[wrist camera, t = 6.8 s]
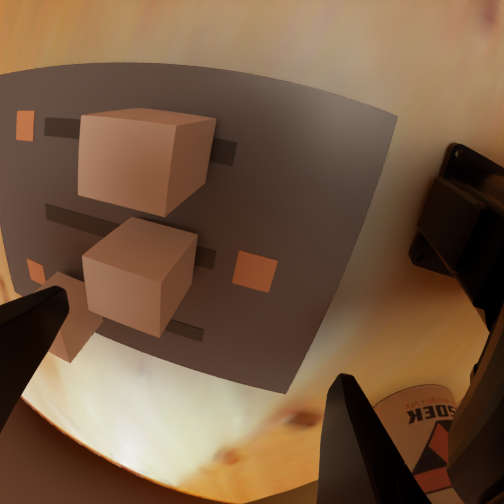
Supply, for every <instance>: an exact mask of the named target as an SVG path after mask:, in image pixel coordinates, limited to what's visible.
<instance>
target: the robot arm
mask: <svg viewBox="0 0 504 504" xmlns="http://www.w3.org/2000/svg"><path fill="white" fill-rule="evenodd" d="M458 149H459V150H460V156H459V157H458V158H456V155H455V154H456V151H457V150H458ZM418 228H419V230H418V233H417V235H416V237H415V240H414V242H413V244H412V246H411V249H410V251H409V258H410V260H411V262H412V263H413V264H414V265H416V266H419V267H422V268H425V269H428V270H432V271H435V272H438V273H441V274H444V275H447V276H450V277H453V278H455V279H456V280H457V282H458V283H459V284H460V286H461V287H462V289H463V290H464V292H465V294H466V295H467V297H468V298H469V300H470V301H471V303H472V304H473V306H474V307H475V309H476V311H477V312H478V314H479V315H480V317H481V319H482V320H483V322H484V324H485V326H486V327H487V329H488V331H489V332H490V334H489V336H488V339H487V341H486V344H485V346H484V349H483V351H482V354H481V356H480V358H479V361H478V363H476V364H475V365H474V367H473V369H472V372H471V374H470V386H469V388H468V390H467V392H466V394H465V396H464V398H463V399H462V401H461V403H460V405H459V407H458V409H457V410H456V412H455V414H454V417H453V421H452V424H451V427H450V431H449V434H448V464H447V466H446V472H447V474H448V477H449V480H450V483H451V485H452V487H453V489H454V490H455V492H456V493H457V494H458V496H459V497H460V499H461V500H462V501H463V502H464V503H465V504H504V168H502V167H501V166H499V165H498V164H496V163H494V162H493V161H491V160H489V159H488V158H486V157H484V156H482V155H481V154H479V153H477V152H475V151H473V150H472V149H470V148H468V147H466V146H464V145H462V144H459V143H452V144H451V145H450V146H449V148H448V151H447V154H446V157H445V161H444V164H443V167H442V170H441V173H440V176H439V177H438V178H436V179H435V181H434V184H433V186H432V189H431V192H430V195H429V197H428V200H427V202H426V205H425V208H424V210H423V213H422V215H421V218H420V220H419V223H418ZM419 252H420V253H422V254H421V256H420V257H418V258H415V256H416V254H417V253H419ZM69 310H70V307H69V302H68V297H67V292H66V290H65V289H64V288H62V287H60V286H57V285H55V286H52V287H49V288H46V289H43V290H40V291H38V292H35V293H32V294H29V295H27V296H24V297H21V298H18V299H16V300H13V301H10V302H7V303H5V304H2V305H0V434H1V432H2V430H3V427H4V426H5V424H6V422H7V420H8V418H9V416H10V414H11V413H12V411H13V409H14V407H15V405H16V404H17V402H18V400H19V398H20V396H21V395H22V393H23V391H24V390H25V388H26V386H27V384H28V383H29V381H30V379H31V378H32V376H33V374H34V373H35V371H36V370H37V368H38V366H39V365H40V363H41V362H42V360H43V358H44V357H45V355H46V354H47V352H48V351H49V349H50V347H51V345H52V344H53V342H54V340H55V338H56V336H57V334H58V332H59V330H60V329H61V327H62V325H63V323H64V321H65V319H66V318H67V316H68V314H69ZM404 463H405V461H404V459H403V458H402V456H401V454H400V452H399V451H398V449H397V447H396V446H395V444H394V442H393V441H392V439H391V437H390V436H389V434H388V432H387V431H386V429H385V427H384V425H383V424H382V422H381V420H380V419H379V417H378V415H377V414H376V412H375V410H374V409H373V407H372V406H371V404H370V402H369V401H368V399H367V397H366V396H365V394H364V392H363V391H362V389H361V387H360V386H359V384H358V383H357V381H356V379H355V378H354V376H353V375H350V374H344V373H340V374H339V375H338V376H337V378H336V379H335V381H334V382H333V384H332V385H331V387H330V388H329V390H328V394H327V400H326V407H325V414H324V420H323V426H322V433H321V442H320V462H319V478H318V493H317V504H432V502H431V501H430V500H429V498H428V497H427V496H426V494H425V493H424V491H423V490H422V488H421V487H420V486H419V484H418V482H417V481H416V479H415V478H414V476H413V474H412V473H411V471H410V469H409V468H408V466H407V464H404Z"/></svg>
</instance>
